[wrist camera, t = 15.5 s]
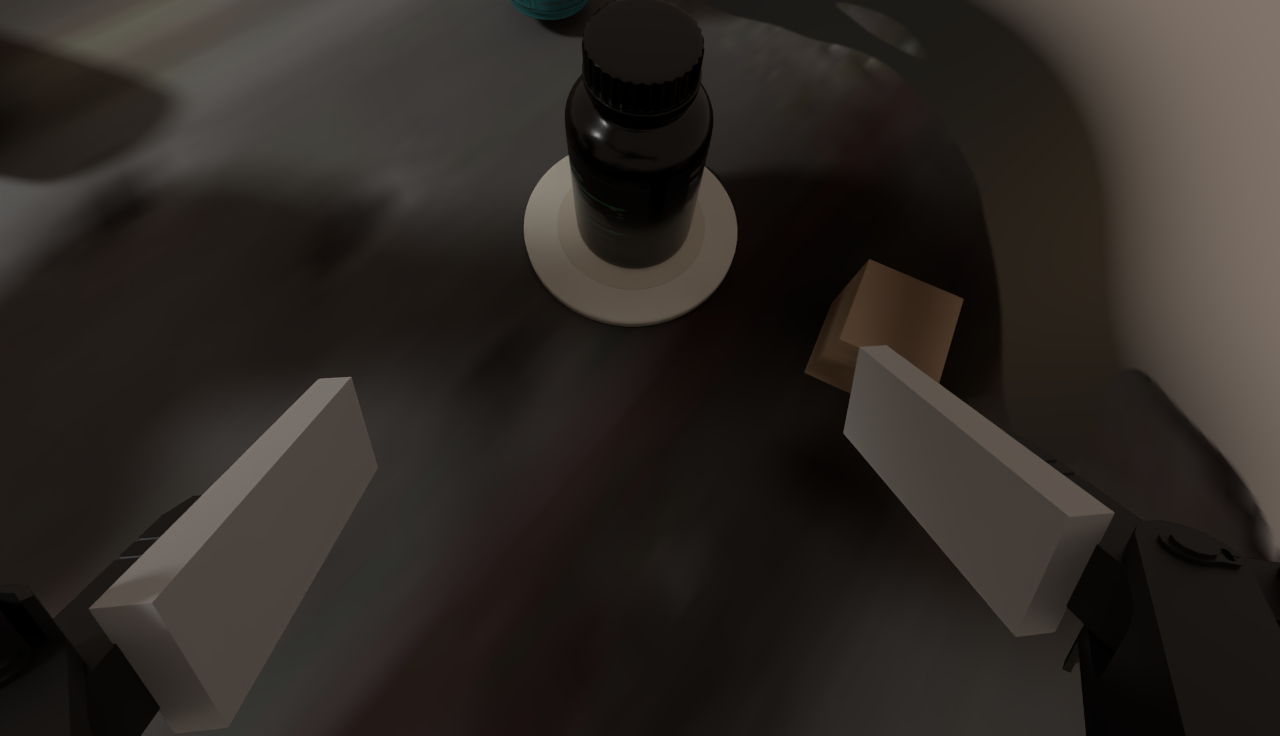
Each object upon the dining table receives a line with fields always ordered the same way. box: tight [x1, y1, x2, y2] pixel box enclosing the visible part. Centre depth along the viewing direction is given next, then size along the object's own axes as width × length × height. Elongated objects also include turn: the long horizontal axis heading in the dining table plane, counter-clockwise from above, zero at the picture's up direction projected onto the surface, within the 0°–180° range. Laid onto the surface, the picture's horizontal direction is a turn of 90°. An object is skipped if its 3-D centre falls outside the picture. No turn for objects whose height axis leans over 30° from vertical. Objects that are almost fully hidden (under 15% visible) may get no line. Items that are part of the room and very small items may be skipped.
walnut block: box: [804, 259, 963, 394], centre depth 28 cm, size 5×5×5 cm
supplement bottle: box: [565, 0, 713, 269], centre depth 26 cm, size 7×7×12 cm
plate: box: [524, 155, 737, 327], centre depth 32 cm, size 13×13×1 cm
